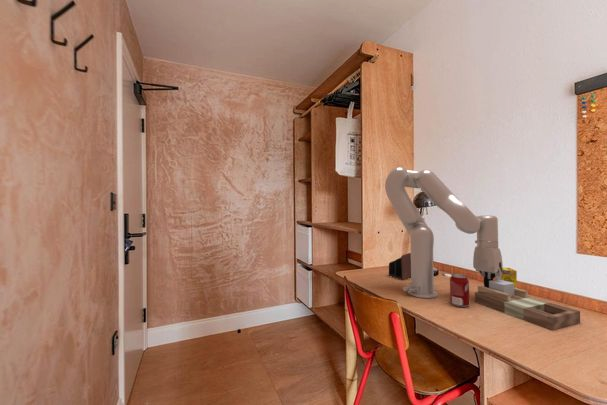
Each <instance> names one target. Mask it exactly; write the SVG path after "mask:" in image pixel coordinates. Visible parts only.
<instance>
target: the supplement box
mask: <svg viewBox="0 0 607 405" xmlns="http://www.w3.org/2000/svg"><path fill="white" fill-rule="evenodd" d="M501 273H502V276H496V277H495V280H498V279H500V280H504V281H507V282H511V283H514V288H518V284H517V282H518V281H517V280H518V279H517V273H518V272H517V270H516V269H513V268H511V267H503V270H502V272H501Z"/></svg>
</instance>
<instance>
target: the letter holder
mask: <svg viewBox="0 0 607 405" xmlns="http://www.w3.org/2000/svg"><path fill="white" fill-rule="evenodd" d="M390 276H392V277H391V278H393V277H395V278H394V279H396V278H398V279H397V280H400V279H401V280H400V281H405V280H404V279H406V280H409V279H408V278H411V252H409V253H406V254H403V255H401V257H399V258H397V259H395V260H393V261H390V262H389V263H388V277H390Z"/></svg>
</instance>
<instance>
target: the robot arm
mask: <svg viewBox="0 0 607 405" xmlns="http://www.w3.org/2000/svg"><path fill="white" fill-rule="evenodd" d="M406 188H410V189H411V188H412V189H421V191H423V193H424V194H425V195H426V196H427V197H428V198H429V199H430V200H431V201H432V203H433V204H434V205H435V206H436V207H437V208H439V209H441V211H443V212H444V213H445V214H447V215H448V216H449V218H450V219H451V220H453V222H454V223H455V227H456V228H457V230H459V231H460V232H463V233H464V234H467V235H472V234H475V233H476V240H474V243H475V244H476V245H475V246H474V250H473V258H472V259H473V260H472V261H473V269H475V271H476V272H477V273H479V274H480V275H481V277H482V278H483V286H484V287H487V288H489V281H492V280H495V279H496V276H502V273H501V272H502V270H503V268H504V264H503V256H502V252H501V249H500V248H499V220H498V217H497V216H496V215H475V214H474V213H473V211H471V209H470V208H469V207H468V206H466V204H464V202H463V201H461V200H460V199H459V197H457V196H456V194H455V193H453V192H452V191H451V190H450V189H449V188H448V186H446V185H445V183H444V182H443V181H442V180H441V178H439V176H437V175H436V174H435V173H434V172H433V171H432V170H430V169H423V170H420V171H418V170H411V169H409V170H408V169H406V168H405V167H403V166H397V167H394V168H393V169H392V170H391V171H390V172H389V173H388V175H387V177H386V179H385V184H384V189H385V194H386V197H387V199H388V200H389V201H390V204H391V205H392V208H393V209H394V211H395V212H396V215H397V217H398V219H399V221H400V222H401V223H402V225H403V227H404V228H405V229H406V232H407V233H408V235H409V239H410V253H411V279H410V282H411V283H409V285H407V286H403V287H402V291H404V292H407V293H408V294H409V295H410V296H413V297H416V298H421V299H434V298H437V297H438V296H439V295H438V294H439V293H438V291H437V290H435V287H434V286H435V282H434V281H435V280H434V279H435V278H434V277H435V276H434V245H435V244H434V240H435V239H434V233H433V231H432V229H431V228H430V227H429V226H428V224H427V223H426V221H425V220H424V218H423V217H422V214H421V213H420V211H419V209H418V208H417V206H416V205H415V204H414V202H413V201H412V199H411V198H410V196H409V194H408V193H407V190H406Z"/></svg>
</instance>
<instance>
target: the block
mask: <svg viewBox="0 0 607 405" xmlns="http://www.w3.org/2000/svg"><path fill="white" fill-rule="evenodd" d="M489 288H490V289H494V290H497V291H501V292H504V293H507V294H510V297H511V296H514V283H511V282H507V281H504V280H500V279H498V280H496V279H493V280H492V281H489Z"/></svg>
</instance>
